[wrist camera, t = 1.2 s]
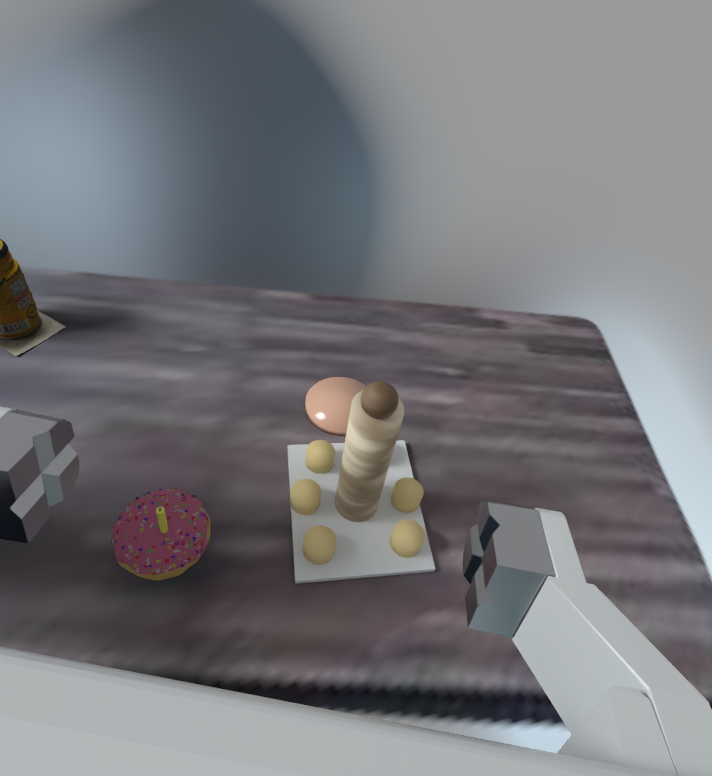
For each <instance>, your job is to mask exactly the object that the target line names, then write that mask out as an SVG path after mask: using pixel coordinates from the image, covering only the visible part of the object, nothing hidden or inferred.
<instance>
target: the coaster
mask: <svg viewBox="0 0 712 776" xmlns="http://www.w3.org/2000/svg"><path fill="white" fill-rule="evenodd" d="M365 388H366V386H365V385H364V384H362V383H360V382H358V381H356V380H353V379H350V378H345V377H332V378H327V379H324V380H321V381H319V382H318V383H316V384H315V385H314V386H312V387H311V389H310V390H309V392H308V393H307V396H306V402H305V409H306V413H307V416H308V418H309V419H310V421H311V422H312V423H313V424H314V425H315V426H316V427H317V428H319V429H320V430H322V431H324V432H327V433H329V434H333V435H339V436H346V432H347V427H348V421H349V415H350V409H351V403H352V400H353V398H354V396H355V395H356V394H357V393H359V392H360V391H362V390H364V389H365Z"/></svg>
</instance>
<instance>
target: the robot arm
mask: <svg viewBox="0 0 712 776" xmlns="http://www.w3.org/2000/svg"><path fill="white" fill-rule="evenodd" d="M73 438H74V433H73V428H72V424H71V423H70V422H68V421H66V420H65V419H60V418H55V417H51V416H46V415H41V414H37V413H32V412H27V411H22V410H18V409H16V410H15V409H10V408H6V407H1V406H0V539H2V540H8V541H14V542H20V543H26V544H29V543H30V541H31V540H32V539H33V538H34V536H35V535H36V534H37V533H38V532H39V530H40V529H41V528H42V527H43V525H44V524H45V523H46V522H47V521H48V519H49V518H50V510H49V507H50V506H52V505H55V504H57V503H59V502H61V501H63V500H64V499H65V498H66V497H67V495H68V494H69V493H70V492H71V490H72V489H73V486H74V484H75V482H76V479H77V477H78V472H79V459H78V454H77V453H76V452H75V451H74V449H73V448H72V447H71V446H70V445H69V444H68V443H69V442H70V441H71V440H72V439H73ZM476 514H477V523H478V524H477V525H475V526H474V527H472V528H470V530H469V533H468V536H467V539H466V542H465V548H464V553H463V573H464V577H465V578H466V580H467V581H468V582H469V584H470V586H469V589H468V591H467V593H466V596H465V599H466V610H467V622H468V628H471V629H475V630H480V631H484V632H489V633H493V634H498V635H503V636H507V637H512V638H513V642H514V643H515V645H516V647H517V648H518V650H519V651H520V653H521V655H522V656H523V658H524V659H525V661H526V663H527V664H528V666H529V667H530V669H531V670H532V672H533V674H534V675H535V677H536V678H537V680H538V682H539V683H540V685H541V686H542V688H543V690H544V691H545V693H546V694H547V696H548V698H549V699H550V701H551V702H552V704H553V706H554V707H555V709H556V710H557V712H558V714H559V715H560V717H561V718H562V720H563V722H564V723H565V725H566V726H567V728H568V730H569V731H570V733H571V734H572V735H571V737H570V738H569V739H568V740H567V742H566V743H565V744H564V745H563V746H562V748H561V749H560V750H559V751H558V753H557V754H556V753H551V752H546V751H541V750H535V749H530V748H525V747H520V746H514V745H509V744H504V743H499V742H494V741H489V740H483V739H478V738H473V737H468V736H463V735H458V734H452V733H446V732H442V731H436V730H432V729H426V728H421V727H416V726H411V725H406V724H400V723H395V722H390V721H385V720H380V719H374V718H369V717H364V716H359V715H354V714H349V713H343V712H338V711H333V710H328V709H323V708H317V707H312V706H307V705H302V704H297V703H291V702H286V701H281V700H276V699H271V698H266V697H260V696H255V695H250V694H245V693H240V692H235V691H229V690H224V689H219V688H214V687H209V686H204V685H198V684H193V683H188V682H183V681H178V680H173V679H168V678H162V677H157V676H152V675H147V674H142V673H137V672H131V671H126V670H121V669H116V668H111V667H105V666H100V665H95V664H90V663H85V662H80V661H74V660H69V659H64V658H59V657H54V656H48V655H43V654H38V653H33V652H28V651H23V650H17V649H12V648H7V647H2V646H0V776H712V710H711V708H710V705H709V703H708V701H707V700H706V699H705V698H704V697H703V696H702V695H701V694H700V693H699V692H698V691H697V690H696V689H695V688H694V687H693V686H692V685H691V684H690V683H689V682H688V681H687V680H686V679H685V678H684V677H683V675H682V674H681V673H680V672H679V671H678V670H677V669H676V668H675V667H674V666H673V665H672V664H671V663H670V662H669V661H668V660H667V659H666V658H665V657H664V656H663V655H662V654H661V653H660V652H659V651H658V650H657V649H656V648H655V647H654V646H653V645H652V644H651V643H650V642H649V640H648V639H647V638H646V637H645V636H644V635H643V634H642V633H641V632H640V631H639V630H638V629H637V628H636V627H635V626H634V625H633V624H632V623H631V622H630V621H629V620H628V619H627V618H626V617H625V616H624V615H623V614H622V613H621V612H620V611H619V610H618V609H617V608H616V607H615V605H614V604H613V603H612V602H611V601H610V600H609V599H608V598H607V597H606V596H605V595H604V594H603V593H602V592H601V591H600V590H599V589H598V588H597V587H596V586H595V585H592V584H588V583H586V580H585V577H584V574H583V571H582V567H581V564H580V561H579V558H578V555H577V552H576V549H575V546H574V542H573V539H572V536H571V533H570V530H569V527H568V524H567V520H566V517H565V516H564V515H563V514H562V512H557V511H551V510H545V509H540V508H532V507H526V506H521V505H515V504H510V503H504V502H499V501H493V500H488V499H483V501H482V502H481V503H480V505H479V508H478V510H477V512H476Z"/></svg>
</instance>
